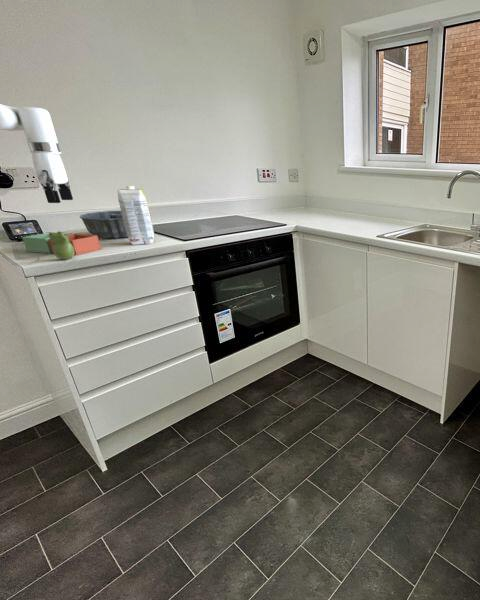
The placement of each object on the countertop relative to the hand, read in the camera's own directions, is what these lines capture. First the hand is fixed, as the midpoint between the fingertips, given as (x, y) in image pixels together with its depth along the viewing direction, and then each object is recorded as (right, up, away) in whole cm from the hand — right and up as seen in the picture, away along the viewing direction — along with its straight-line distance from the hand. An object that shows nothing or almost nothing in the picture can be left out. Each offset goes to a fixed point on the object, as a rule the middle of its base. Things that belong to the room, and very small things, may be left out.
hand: (61, 201), depth 124 cm
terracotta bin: (-8, -16, +15) cm, 23 cm away
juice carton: (+6, -10, +31) cm, 33 cm away
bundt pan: (-14, -4, +45) cm, 47 cm away
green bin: (-19, -15, +16) cm, 29 cm away
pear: (-2, -20, +4) cm, 21 cm away
